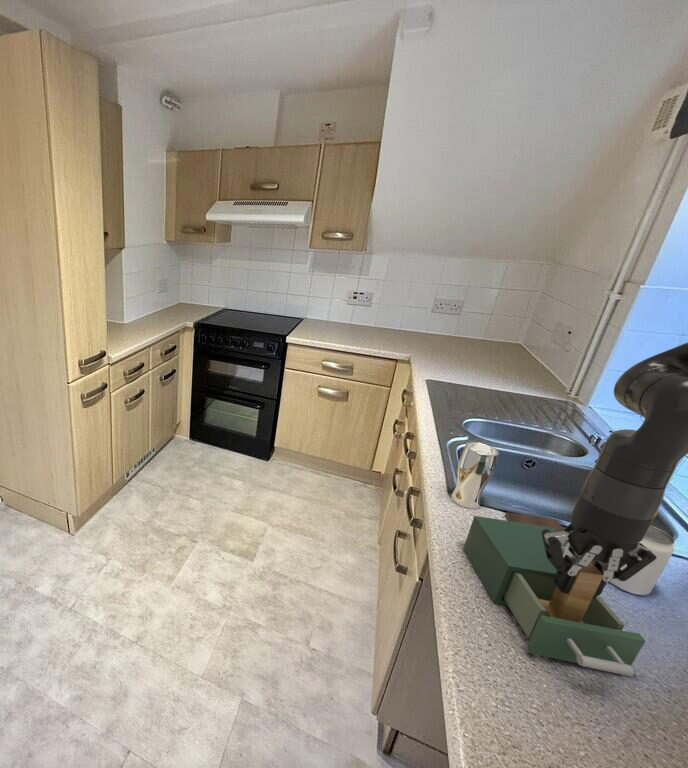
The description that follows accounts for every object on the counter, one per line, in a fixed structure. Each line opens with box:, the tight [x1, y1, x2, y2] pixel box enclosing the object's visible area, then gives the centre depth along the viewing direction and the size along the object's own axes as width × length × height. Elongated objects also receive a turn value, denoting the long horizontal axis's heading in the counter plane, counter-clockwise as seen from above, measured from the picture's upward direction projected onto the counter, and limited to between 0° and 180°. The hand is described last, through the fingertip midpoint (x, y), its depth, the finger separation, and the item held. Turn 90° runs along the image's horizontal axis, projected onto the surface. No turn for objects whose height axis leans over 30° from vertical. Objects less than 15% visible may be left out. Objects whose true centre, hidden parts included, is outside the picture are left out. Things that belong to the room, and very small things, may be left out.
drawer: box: [503, 571, 646, 677], centre depth 66 cm, size 17×13×7 cm
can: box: [609, 525, 675, 596], centre depth 77 cm, size 6×6×12 cm
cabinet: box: [462, 515, 567, 607], centre depth 78 cm, size 14×14×9 cm
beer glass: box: [450, 441, 500, 510], centre depth 100 cm, size 7×7×15 cm
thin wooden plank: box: [504, 511, 593, 564], centre depth 90 cm, size 10×14×1 cm
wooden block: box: [539, 561, 604, 623], centre depth 66 cm, size 5×5×11 cm
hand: (574, 591), depth 65 cm, fingers closed on wooden block, 3 cm apart
